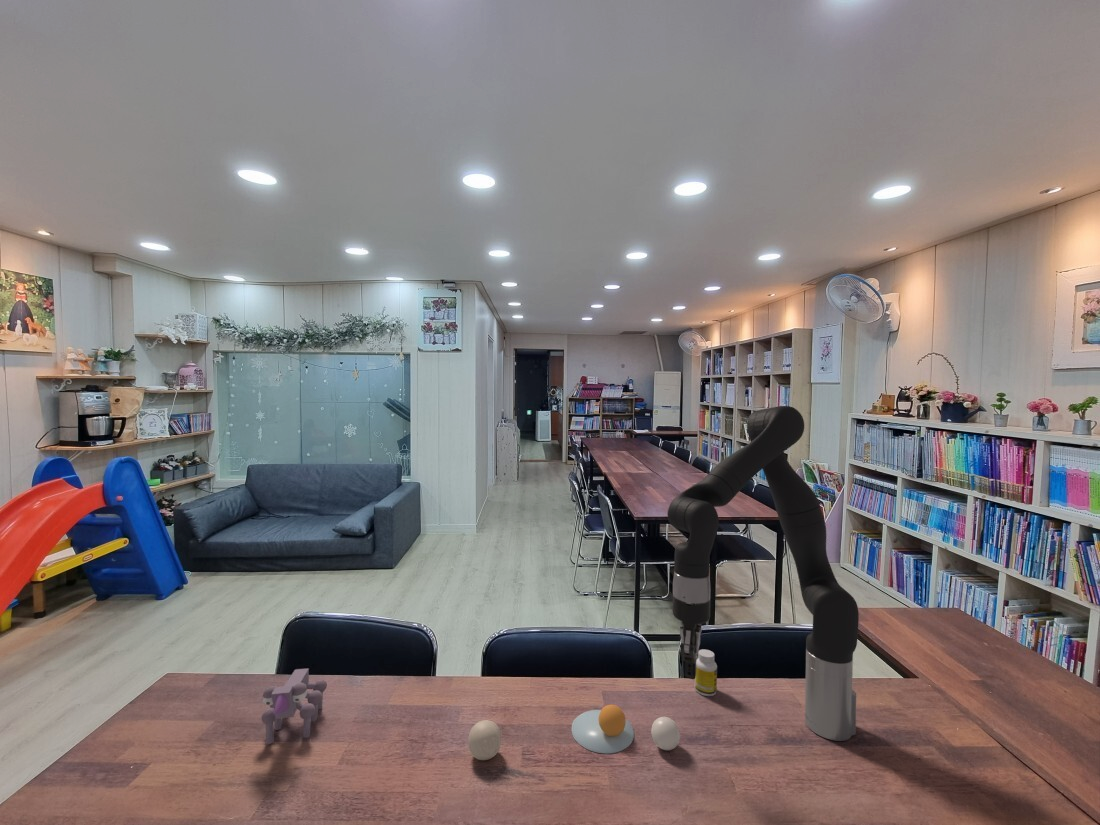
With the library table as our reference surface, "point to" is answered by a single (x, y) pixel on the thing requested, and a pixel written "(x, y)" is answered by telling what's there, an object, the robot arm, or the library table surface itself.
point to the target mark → (599, 734)
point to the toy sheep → (293, 702)
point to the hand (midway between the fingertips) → (690, 676)
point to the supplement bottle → (706, 673)
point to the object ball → (612, 720)
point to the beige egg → (484, 740)
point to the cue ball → (665, 733)
